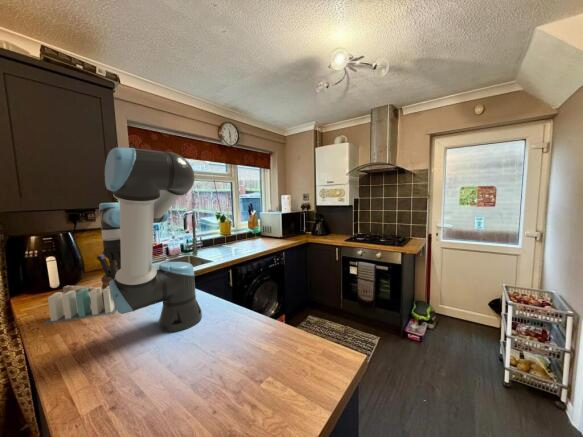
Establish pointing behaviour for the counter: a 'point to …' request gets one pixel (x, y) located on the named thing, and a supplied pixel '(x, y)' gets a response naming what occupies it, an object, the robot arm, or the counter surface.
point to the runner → (81, 317)
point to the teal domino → (83, 302)
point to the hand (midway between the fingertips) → (119, 291)
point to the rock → (78, 289)
